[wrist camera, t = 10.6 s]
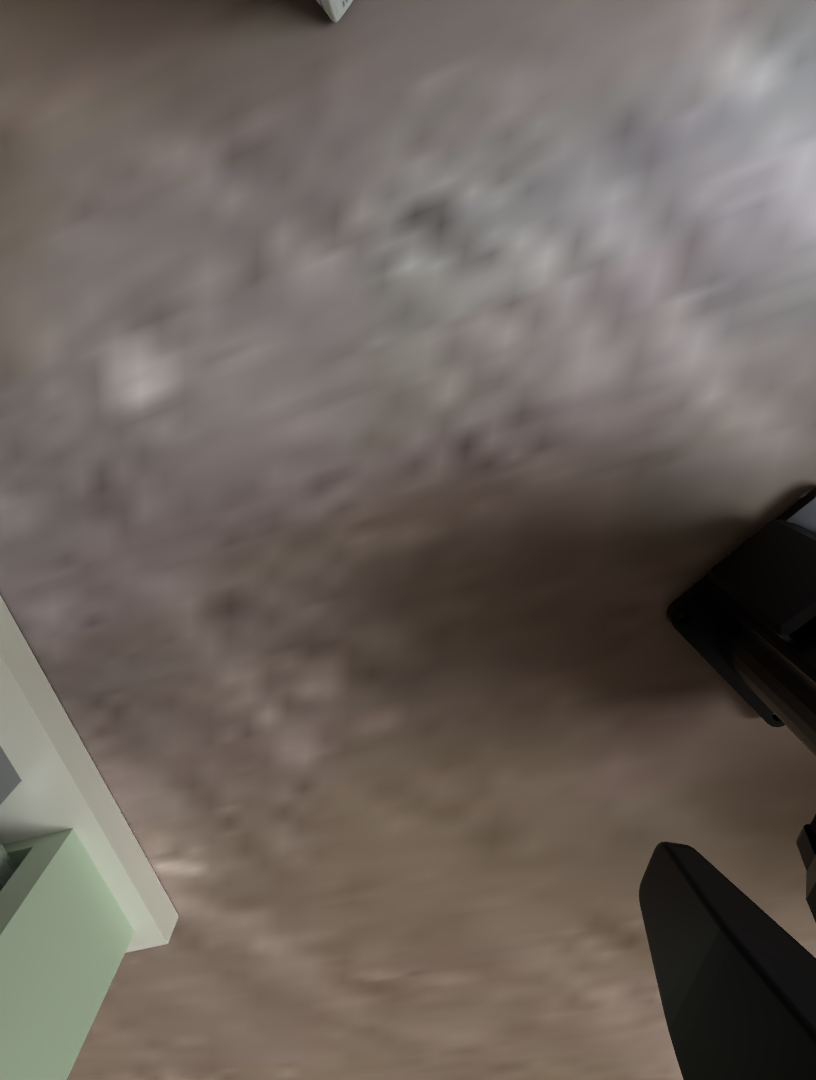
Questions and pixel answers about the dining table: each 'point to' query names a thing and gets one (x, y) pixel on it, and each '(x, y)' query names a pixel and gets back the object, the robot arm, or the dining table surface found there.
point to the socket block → (54, 954)
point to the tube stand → (67, 790)
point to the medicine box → (335, 8)
